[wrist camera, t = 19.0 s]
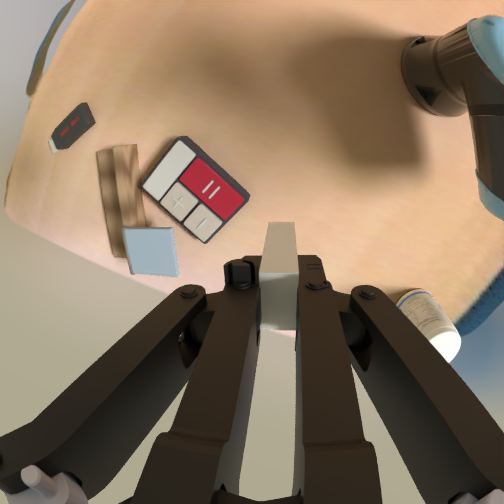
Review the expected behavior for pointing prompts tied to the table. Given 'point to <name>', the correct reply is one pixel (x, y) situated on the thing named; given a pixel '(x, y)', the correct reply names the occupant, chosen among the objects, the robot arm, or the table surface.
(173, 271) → the light blue flat tile
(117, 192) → the wooden l-shaped bracket
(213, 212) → the calculator
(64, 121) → the usb drive
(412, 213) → the table surface
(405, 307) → the supplement tub
